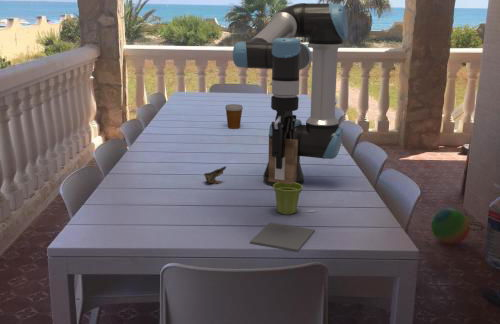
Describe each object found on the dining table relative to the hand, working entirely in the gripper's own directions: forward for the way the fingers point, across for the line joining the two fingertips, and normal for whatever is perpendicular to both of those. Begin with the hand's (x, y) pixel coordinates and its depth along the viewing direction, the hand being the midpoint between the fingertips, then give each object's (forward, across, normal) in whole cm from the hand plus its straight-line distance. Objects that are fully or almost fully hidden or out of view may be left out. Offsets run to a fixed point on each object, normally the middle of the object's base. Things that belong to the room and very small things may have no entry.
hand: (282, 176), depth 169 cm
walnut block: (+1, 0, 0) cm, 1 cm away
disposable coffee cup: (+17, -130, -76) cm, 151 cm away
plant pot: (+17, -17, -4) cm, 25 cm away
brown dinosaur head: (+17, -35, -39) cm, 55 cm away
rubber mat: (+17, +4, +2) cm, 17 cm away
